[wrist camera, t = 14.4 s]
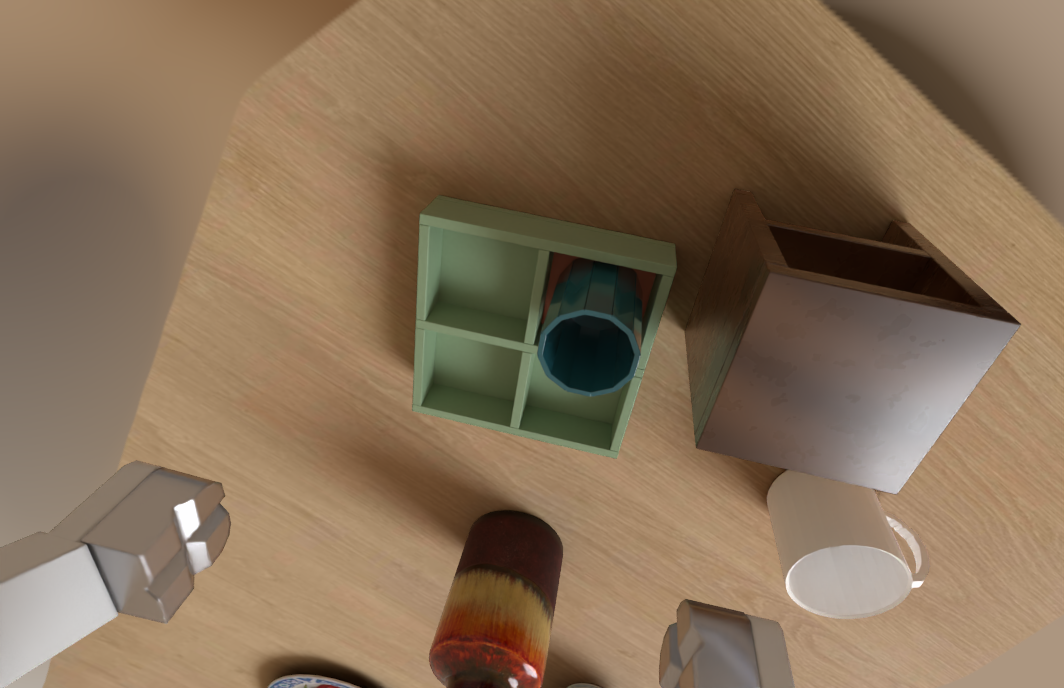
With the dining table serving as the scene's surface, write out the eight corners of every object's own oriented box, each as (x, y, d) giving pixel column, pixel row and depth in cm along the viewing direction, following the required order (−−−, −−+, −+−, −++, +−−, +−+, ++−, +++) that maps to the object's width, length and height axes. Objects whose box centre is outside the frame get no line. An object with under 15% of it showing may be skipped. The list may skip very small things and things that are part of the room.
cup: (564, 246, 43) (546, 300, 35) (650, 264, 42) (650, 323, 35) (550, 320, 46) (531, 383, 39) (630, 337, 46) (625, 405, 38)
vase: (457, 550, 66) (390, 744, 49) (488, 495, 60) (425, 694, 43) (540, 586, 67) (503, 789, 50) (579, 535, 61) (552, 745, 44)
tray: (438, 194, 44) (419, 213, 40) (675, 243, 42) (677, 267, 39) (428, 382, 54) (412, 411, 50) (619, 426, 52) (616, 459, 49)
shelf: (734, 188, 39) (769, 271, 28) (910, 223, 39) (1022, 324, 27) (684, 332, 46) (695, 448, 34) (833, 364, 45) (897, 495, 33)
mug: (748, 511, 55) (765, 597, 47) (796, 446, 50) (822, 530, 42) (867, 549, 55) (903, 642, 47) (926, 488, 50) (977, 580, 42)
